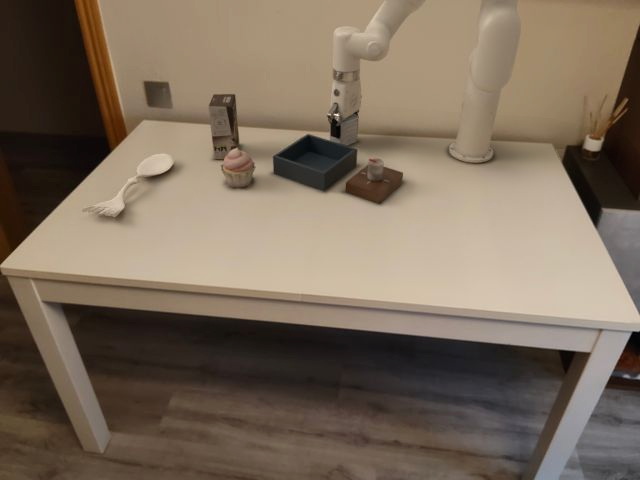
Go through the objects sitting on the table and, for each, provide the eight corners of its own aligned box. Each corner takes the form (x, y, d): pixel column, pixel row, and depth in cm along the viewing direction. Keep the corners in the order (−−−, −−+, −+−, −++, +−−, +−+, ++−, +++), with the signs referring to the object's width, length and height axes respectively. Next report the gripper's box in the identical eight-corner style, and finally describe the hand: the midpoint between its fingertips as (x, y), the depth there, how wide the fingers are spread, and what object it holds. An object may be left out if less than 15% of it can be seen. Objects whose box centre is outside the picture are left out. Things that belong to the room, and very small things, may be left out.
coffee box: (236, 160, 156) (231, 106, 146) (213, 159, 156) (207, 106, 146) (240, 145, 163) (236, 93, 153) (219, 145, 163) (213, 93, 154)
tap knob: (385, 176, 143) (386, 159, 140) (378, 182, 140) (379, 166, 137) (371, 171, 145) (372, 155, 142) (364, 178, 142) (365, 161, 139)
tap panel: (369, 171, 151) (370, 161, 149) (402, 182, 146) (403, 172, 145) (345, 192, 142) (345, 181, 140) (378, 204, 138) (379, 193, 136)
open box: (307, 150, 161) (307, 133, 158) (356, 166, 154) (357, 148, 150) (273, 173, 150) (272, 156, 146) (324, 191, 142) (324, 173, 139)
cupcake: (262, 186, 144) (260, 152, 138) (228, 194, 141) (224, 159, 135) (250, 170, 151) (247, 137, 145) (217, 177, 148) (213, 144, 142)
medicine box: (347, 137, 168) (348, 110, 163) (357, 142, 166) (359, 115, 160) (329, 145, 164) (329, 118, 158) (339, 150, 161) (340, 123, 156)
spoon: (83, 220, 131) (80, 208, 129) (151, 159, 156) (149, 148, 154) (116, 226, 129) (113, 214, 127) (180, 163, 154) (178, 152, 152)
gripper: (341, 86, 144) (339, 145, 155) (373, 68, 156) (369, 123, 166) (317, 80, 148) (317, 138, 158) (350, 63, 159) (348, 118, 170)
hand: (344, 130), depth 162 cm, fingers open, 9 cm apart
